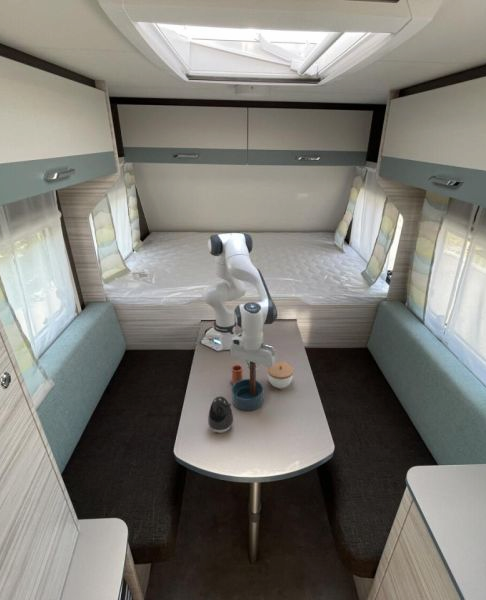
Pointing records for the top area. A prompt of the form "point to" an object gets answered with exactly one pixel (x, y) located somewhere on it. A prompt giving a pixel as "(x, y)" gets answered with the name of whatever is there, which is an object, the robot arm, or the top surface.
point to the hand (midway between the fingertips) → (252, 368)
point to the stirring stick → (252, 379)
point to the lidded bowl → (280, 374)
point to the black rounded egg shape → (220, 415)
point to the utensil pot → (237, 373)
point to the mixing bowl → (247, 395)
